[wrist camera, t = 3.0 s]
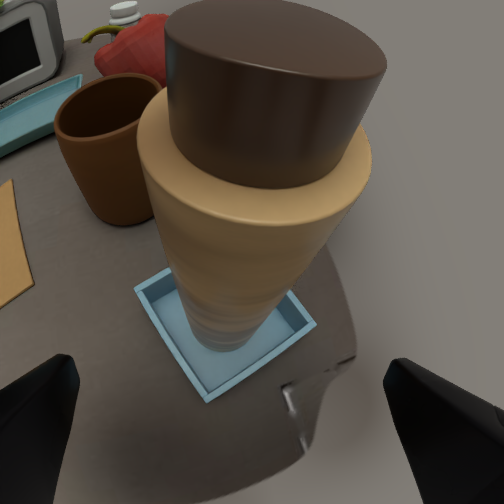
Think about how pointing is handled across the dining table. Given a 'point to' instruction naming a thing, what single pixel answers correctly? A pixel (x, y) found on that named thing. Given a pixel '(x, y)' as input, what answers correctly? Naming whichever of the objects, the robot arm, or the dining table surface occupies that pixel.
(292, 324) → the tub
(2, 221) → the mat
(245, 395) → the dining table surface
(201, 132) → the pepper mill
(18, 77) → the alarm clock
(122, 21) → the pill bottle
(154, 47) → the vegetable
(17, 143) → the shallow long dish
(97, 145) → the mug
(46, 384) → the robot arm
